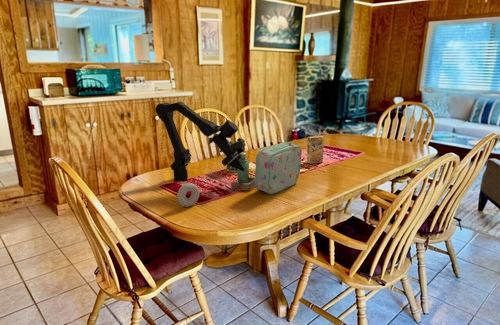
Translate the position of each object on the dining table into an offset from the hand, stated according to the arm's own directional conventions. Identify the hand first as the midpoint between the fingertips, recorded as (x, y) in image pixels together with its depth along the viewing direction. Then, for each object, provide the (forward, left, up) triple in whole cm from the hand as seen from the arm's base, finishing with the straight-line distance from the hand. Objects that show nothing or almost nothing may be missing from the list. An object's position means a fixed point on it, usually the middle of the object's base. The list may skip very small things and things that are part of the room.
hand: (245, 168), depth 166 cm
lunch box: (+15, -4, -9) cm, 18 cm away
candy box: (+47, +34, -9) cm, 58 cm away
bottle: (-1, +1, -7) cm, 7 cm away
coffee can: (-1, +28, -9) cm, 29 cm away
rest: (-1, +1, -9) cm, 9 cm away
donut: (-27, -19, -9) cm, 35 cm away
